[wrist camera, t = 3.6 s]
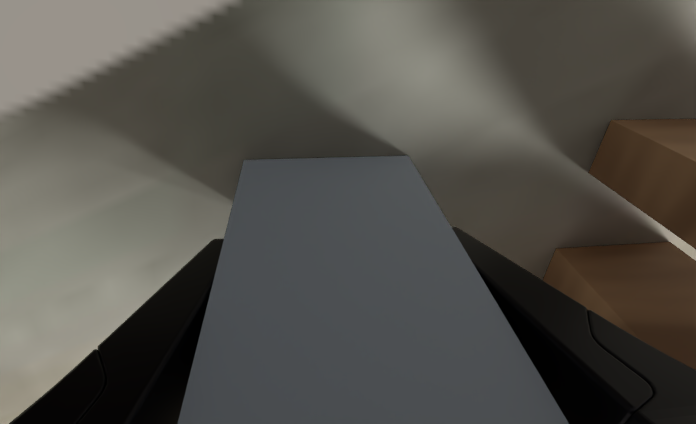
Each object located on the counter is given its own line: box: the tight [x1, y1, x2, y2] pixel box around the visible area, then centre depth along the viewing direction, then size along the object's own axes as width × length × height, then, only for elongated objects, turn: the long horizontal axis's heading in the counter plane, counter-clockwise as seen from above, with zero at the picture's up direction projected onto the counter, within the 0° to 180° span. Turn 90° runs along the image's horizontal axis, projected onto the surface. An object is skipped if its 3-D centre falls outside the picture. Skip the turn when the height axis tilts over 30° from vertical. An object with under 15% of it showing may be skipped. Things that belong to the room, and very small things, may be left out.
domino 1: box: [178, 155, 569, 424], centre depth 8 cm, size 2×5×8 cm, turn 88°
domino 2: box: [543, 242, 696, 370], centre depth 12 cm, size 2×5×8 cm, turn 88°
